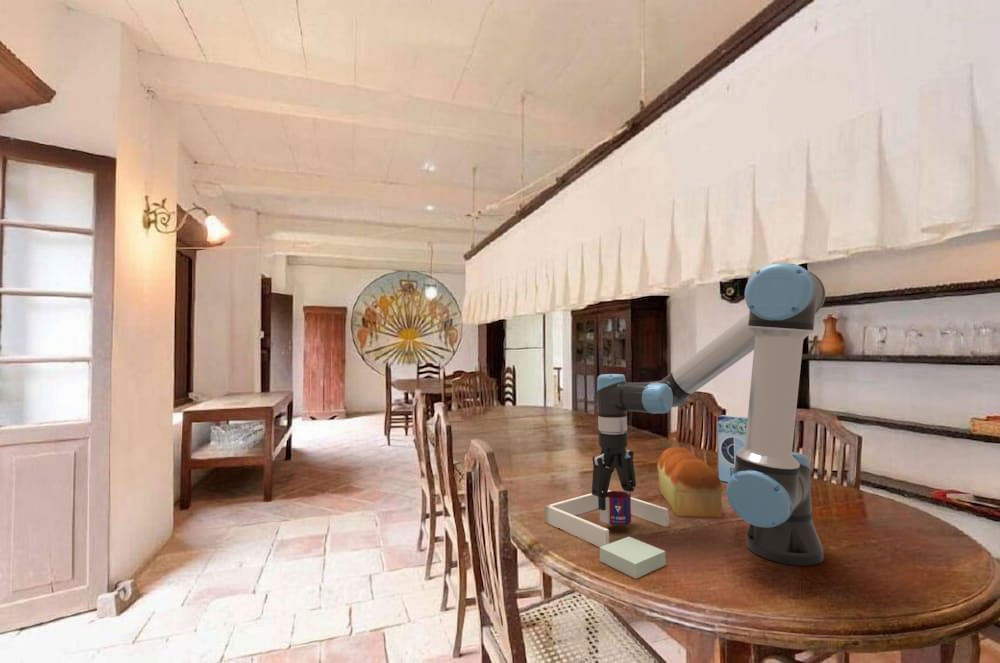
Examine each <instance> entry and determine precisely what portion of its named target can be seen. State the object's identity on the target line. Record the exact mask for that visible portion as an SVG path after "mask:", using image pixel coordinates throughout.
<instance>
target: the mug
mask: <svg viewBox="0 0 1000 663" xmlns="http://www.w3.org/2000/svg"><path fill="white" fill-rule="evenodd" d="M607 497H608V498H609V510H610V523H609V524H610V525H613V526H628V525H630V524H631V523H632V515H631V502H630V494H628V493H626V492H621V491H620V490H610V491H609V492H608V493H607Z"/></svg>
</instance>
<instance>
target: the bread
mask: <svg viewBox="0 0 1000 663" xmlns="http://www.w3.org/2000/svg"><path fill="white" fill-rule="evenodd" d="M656 469H657V472H658V490H659V492H660V494H662V496H663V498H664V499H665V500H666V502H667V503H668V504H669V506H670V507H671V509H672V510H673V511H674V513H675V514H676V515H677V516H678V517H697V518H698V517H701V518H723V511H722V509H723V508H722V507H723V506H722V492H723V487H722V483H721V481H720V479H719V475H717V473H716V472H715V470H714V469H713V468H712V467H710V465H708V464H707V463H706V462H704V460H702V459H700V458H699V457H697V456H696V455H695V454H693V453H692V452H691V451H690V450H689V449H688V448H686V447H682V446H681V447H679V446H672V447H671V446H669V447H668V448H667V449H665V450H664V451H663V452H662V453H661V454H660V455H659V456H658V461H657V466H656Z"/></svg>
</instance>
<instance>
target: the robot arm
mask: <svg viewBox="0 0 1000 663" xmlns="http://www.w3.org/2000/svg"><path fill="white" fill-rule="evenodd" d="M825 299H826V290H825V286H824V283H823V282H822V280H821V279H820V278H819V277H818V276H817V275H816V274H814V273H812V272H811V271H809V270H807V269H806V268H805V267H802V266H801V265H797V264H794V263H787V262H776V263H770V264H768V265H767V264H766V265H765V266H763V267H761V268H760V269H758V270H757V271H756V272H754V273H753V274H752V275H751V277H749V279H748V280H747V283H746V285H745V288H744V300H745V303H746V306H747V308H748V310H749V312H748V313H747V314H746V315H744V316H743V317H742V318H740V319H739V320H737V321H736V322H735V323H734V324H733V325H731V326H730V327H729V328H727V329H726V330H725V331H723V332H722V333H721V334H720V335H718V336H717V337H716V338H714V339H713V340H712V341H711V342H709V343H708V344H706V345H705V346H704V347H703V348H702V349H700V350H699V351H697V353H695V354H694V355H693V356H691V357H690V358H689V359H687V360H686V361H685V362H683V363H682V364H680V366H678V367H677V368H675V369H673V371H672V372H671V373H669V374H668V375H667V376H665V377H663V379H661V380H656V381H647V382H629V381H626V376H625V374H622V373H621V374H619V373H607V374H606V373H604V374H600V375H598V376H597V379H596V380H597V381H596V396H597V397H596V399H597V421H598V423H597V424H598V431H599V432H598V435H597V436H598V446H599V447H600V450H601V451H600V453H599V455H598V456H593V457H592V464H593V466H592V467H593V469H592V483H591V484H592V486H591V493H592V495H595V496H598V507H599V508H598V510H599V521H600V522H602V523H605V524H609V523H610V510H609V498H608V497H607V493H608V490H609V488H610V487H609V486H610V482H611V480H612V479H611V478H612V473H614V471H615V470H616V473H617V476H618V479H619V483H620V485H621V488H622V489H620V490H619V491H621V492H626V493H628V494H630V502H631V496H632V495H631V492H634V491H635V488H636V487H637V483H636V474H635V465H634V454H635V453H634V451H632V450H628V449H626V448H627V447H628V434H627V431H628V417H627V412H637V413H648V414H653V415H655V414H656V415H657V414H667V413H669V412H670V410H671V409H672V408H676V407H677V408H678V406H680V405H681V406H682V405H683V404H685V403H686V402H687V400H688V399H689V397H690V396H691V395H692V394H694V393H695V392H696V391H698V390H699V389H701V388H702V387H704V386H705V385H706V384H708V383H709V382H711V381H713V380H714V379H715V378H716V377H718V376H719V375H721V374H723V373H724V372H725V371H726V370H728V369H729V368H730V367H732V366H733V365H735V364H736V363H737V362H739V361H740V360H742V359H743V358H745V357H746V356H748V355H750V353H752V352H753V357H752V369H751V379H750V387H749V388H750V389H749V398H748V407H747V408H748V411H747V418H748V419H747V429H746V440H745V446H744V447H743V448H741V449H739V450H738V451H737V452H736V461H735V470H734V475H732V476H731V477H730V480H729V482H727V484H726V488H725V492H726V499H727V502H728V503H729V504H728V505H729V506H730V508H731V509H732V510H733V511H734V513H735V514H736V515H737V516H738V517H739V518H740V519H742V520H743V521H744V522H745V523H748V524H749V526H748V528H747V531H746V535H745V536H746V546H747V549H748V550H749V551H751V552H752V553H754V554H755V555H757V556H759V557H761V558H763V559H766V560H769V561H773V562H776V563H779V564H785V565H790V566H805V567H806V566H814V565H818V564H820V563H823V561H824V558H825V557H824V548H823V544H822V542H821V539H820V537H819V535H818V533H817V529H816V527H815V524H814V522H813V512H812V511H813V510H812V506H813V505H812V488H811V470H812V468H811V466H810V458H809V457H808V456H807V455H806V454H805V453H804V454H803V453H801V452H795V451H793V446H794V437H795V427H796V426H795V425H796V417H797V407H798V398H799V387H800V377H801V376H800V375H801V366H802V356H803V347H804V346H803V345H804V340H805V339H806V338H807V337H808V336H810V335H811V334H812V333H813V332H814V328H815V327H814V326H815V319H816V318H815V317H816V314H817V313H819V311H820V309H821V308H822V307H823V305H824V303H825ZM602 491H603V493H602Z"/></svg>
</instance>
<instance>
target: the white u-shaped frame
mask: <svg viewBox="0 0 1000 663" xmlns="http://www.w3.org/2000/svg"><path fill="white" fill-rule="evenodd" d="M609 491H611V490H610V489H608V492H609ZM602 493H603V491H602ZM544 508H545V509H544V510H545V511H544V513H545V523H546V524H549V525H550V524H551V526H553V527H555V528H558V529H559V528H560V530H561V529H562V531H563V530H564V531H563V532H566V533H568V534H570V535H572V536H575V537H576V536H577V538H579V539H581V540H583V541H585V542H588V543H589V544H592V545H594V546H597V547H598V548H599V547H602V546H605V545H607V544H610V530H609V529H608V528H606V527H604V526H602V525H599V524H596V523H594V522H592V521H589V520H587V519H584V518H581V517H579V516H577V515H581V514H584V513H588V512H591V511H594V510H597V509H598V510H599V507H598V496H595V495H592V492H591V493H588V494H584V495H580V496H576V497H573V498H570V499H566V500H561V501H558V502H554V503H551V504H548V505H547V504H546V505H545V506H544ZM631 516H634V517H637V518H640V519H642V520H645V521H649V522H651V523H654V524H657V525H660V526H662V527H665V528H666V527H669V526H670V515H669V508H667V507H663V506H660V505H658V504H654V503H652V502H648V501H644V500H642V499H639V498H635V497H631Z"/></svg>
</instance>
